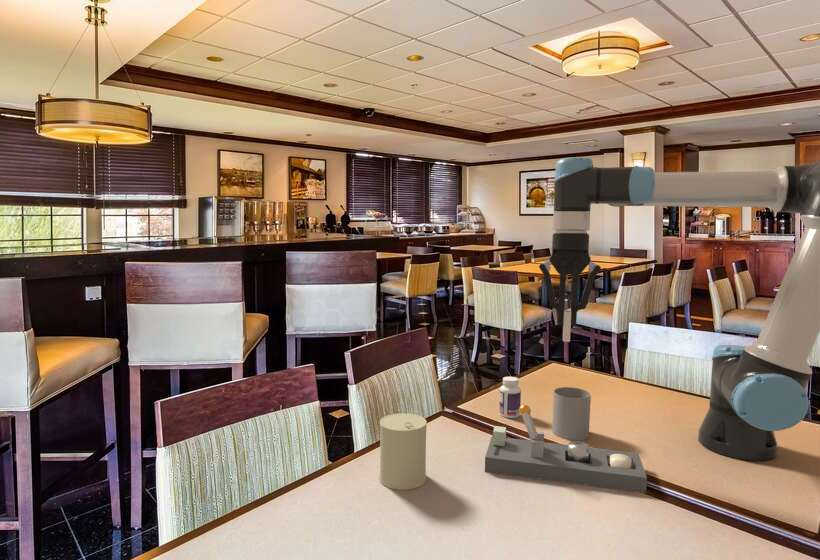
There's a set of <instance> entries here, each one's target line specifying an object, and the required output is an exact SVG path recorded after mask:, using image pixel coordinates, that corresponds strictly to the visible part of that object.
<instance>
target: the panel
mask: <svg viewBox="0 0 820 560" xmlns="http://www.w3.org/2000/svg"><path fill="white" fill-rule="evenodd" d="M536 432H537V435H538V438H539V440H540V441H536V440H530V439H529V440H528V439H520V438H511V437H506V441H505V445H504V446H498V445H493V435H492V436H491V438H490V440H489V442H488V443H489V444H488V448H487V450H486V454H485V455H484V456H485V457H484V472H486V473H492V474H495V473H496V474H501V475H509V476H510V475H511V476H517V477H523V478H524V477H525V478H532V479H538V480H539V479H540V480H546V481H551V482H553V481H554V482H560V483H568V484H574V485H575V484H576V485H584V486H591V487H598V488H605V489H613V490H621V491H627V492H633V493H634V492H635V493H641V494H642V493H643V494H646V493H647V486H648V485H647V482H648V481H647V480H648V477H647V473H646V471H645V468H644V465H643V462H642V459H641V457H640V454H639V452H631V451H623V450H613V449H607V448H598V447H590V446H589V461H588V463H580V462H572V461H568V444H564V443H556V442H546V441H545V432H540V431H536ZM612 454H623V455H626V456H628V457H630V458H631V459H632V465H631V469H628V468H620V467H612V466H610V455H612Z"/></svg>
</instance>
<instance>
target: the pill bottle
mask: <svg viewBox="0 0 820 560" xmlns="http://www.w3.org/2000/svg"><path fill="white" fill-rule="evenodd" d="M499 387H500V388H499V411H498V412H499V416H501V417H503V418H506V419H507V418H508V419H515V418H516V419H517V418H519V417H520V416H521V415H520V413H519V408H520V406H521V405H522V404H521V397H522V396H521V395H522V390H521V387H520V386H519V378H518V377H515V376H504V377H502V385H501V386H499Z"/></svg>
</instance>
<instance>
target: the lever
mask: <svg viewBox="0 0 820 560" xmlns="http://www.w3.org/2000/svg"><path fill="white" fill-rule="evenodd" d="M531 410H532V409H531V408H530V406H529V405H527V404H521V405H520V408H519V413H520V416H521V417H522V419H523V422H524V425H525V429H526V431H527V434H528V436H529V440H530V441H531V440H536V441H540V440H539V438H538V435H537V432H538V431H537V430H536V426H535V424H534V420H533V417H532V415H531V412H532V411H531Z"/></svg>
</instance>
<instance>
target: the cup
mask: <svg viewBox="0 0 820 560" xmlns="http://www.w3.org/2000/svg"><path fill="white" fill-rule="evenodd" d="M591 399H592V395H591V393H590V392H589V391H588V390H587V389H586V390H585V389H583V388H578V387H570V386H569V387H568V386H567V387H566V386H565V387H556V388H555V389H554V390H553V400H552V402H553V405H552V427H551V431H552V434H553V435H554V436H555V437H558V438H560V439H563V440H569V441H583V440H586V439H588V438H589V436H590V423H591V422H590V420H591V401H592V400H591Z"/></svg>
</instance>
